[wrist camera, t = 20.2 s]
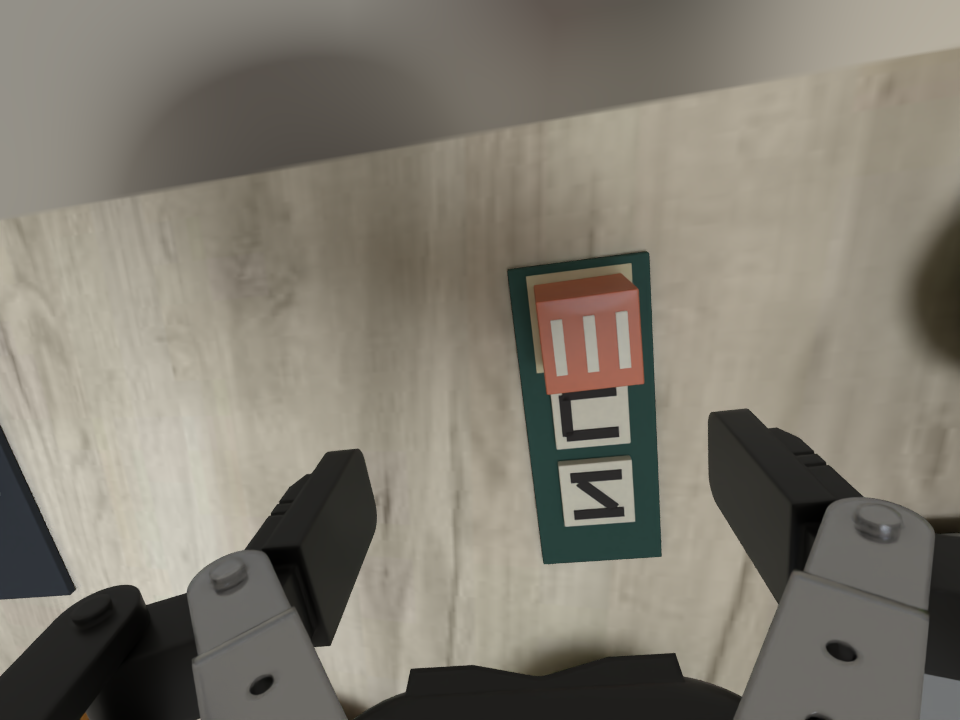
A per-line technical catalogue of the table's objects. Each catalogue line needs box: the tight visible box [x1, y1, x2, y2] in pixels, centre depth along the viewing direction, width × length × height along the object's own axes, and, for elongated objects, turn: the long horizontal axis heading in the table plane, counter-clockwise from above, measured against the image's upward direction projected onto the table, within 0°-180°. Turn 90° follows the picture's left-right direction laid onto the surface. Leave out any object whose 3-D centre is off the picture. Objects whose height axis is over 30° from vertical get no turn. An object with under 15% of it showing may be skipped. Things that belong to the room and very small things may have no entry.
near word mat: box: [507, 252, 662, 564], centre depth 29 cm, size 18×7×1 cm, turn 8°
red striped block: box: [534, 273, 644, 395], centre depth 25 cm, size 4×4×4 cm
